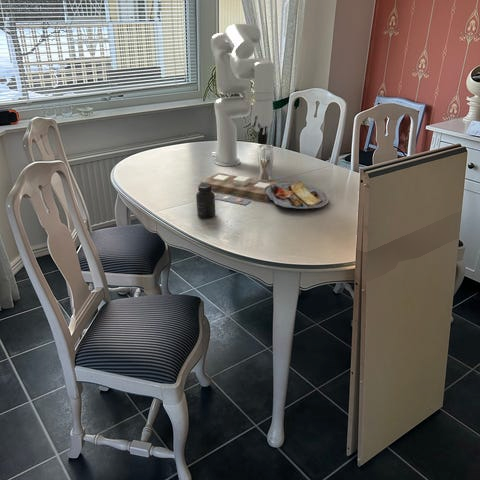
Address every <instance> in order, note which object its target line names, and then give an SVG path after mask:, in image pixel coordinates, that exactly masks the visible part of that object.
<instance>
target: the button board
mask: <svg viewBox="0 0 480 480" xmlns="http://www.w3.org/2000/svg"><path fill="white" fill-rule="evenodd" d="M218 175H224V176H229V180H227V181H225V182H224V183H223V182H218V181H213V178H214V177H216V176H218ZM238 176H239V175H234V174H226V173H222V172H217V173H215V174H212V175H211V176H210V177H207V178H205V179H203V180H201V181H200V184H204V183H207V184H211V188H212V190H211V191H212V192H215V193H220V194H224V195H229V196H234V197H236V196H237V197H239V198H244V199H249V200H250V199H251V200H257V201H262V202H265V203H269V201H272V199H271V198H270V197H269V196H268V195H267V193H266V192H265V191H266V190H260V189H255V188H254V185H256V184H257V183H259V182H263V183H268V184H271V185H273V184H276V183H277V182H272V181H262V180H259V179H255V178H250V183H249V184H247V185H245V186H239V185H234V184H233V179H234V178H236V177H238Z"/></svg>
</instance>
